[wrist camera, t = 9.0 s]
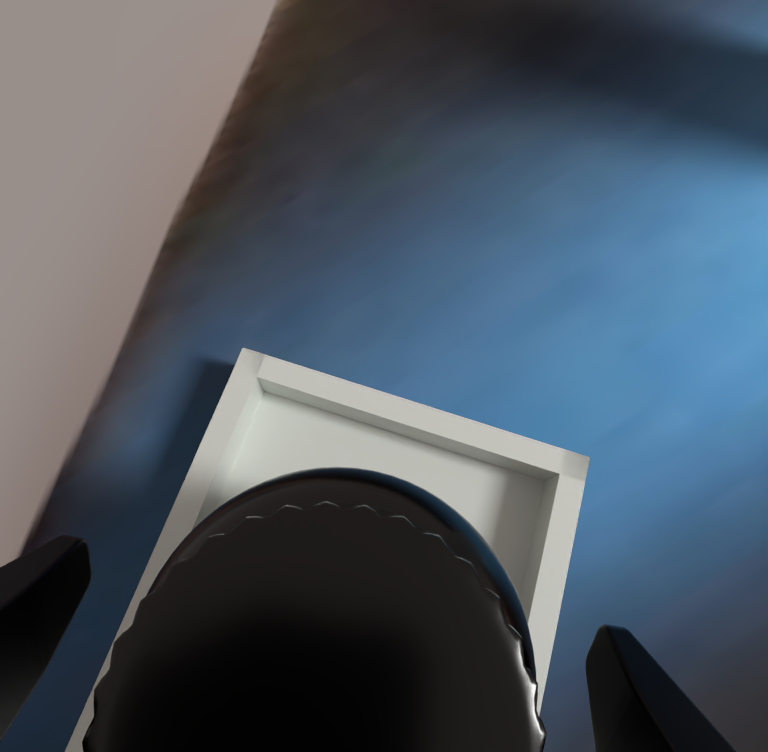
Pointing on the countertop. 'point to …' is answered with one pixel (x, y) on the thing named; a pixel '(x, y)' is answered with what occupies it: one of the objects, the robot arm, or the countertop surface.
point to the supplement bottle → (325, 631)
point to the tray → (390, 456)
